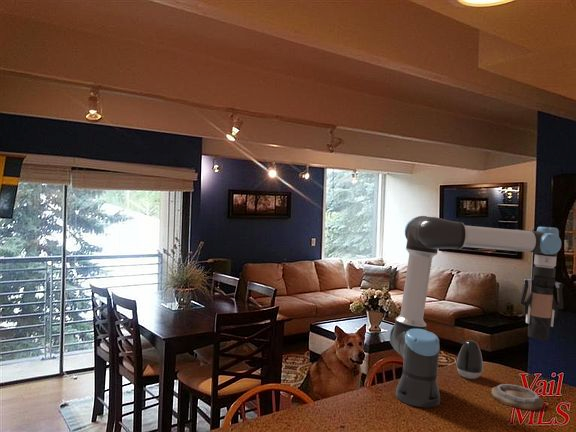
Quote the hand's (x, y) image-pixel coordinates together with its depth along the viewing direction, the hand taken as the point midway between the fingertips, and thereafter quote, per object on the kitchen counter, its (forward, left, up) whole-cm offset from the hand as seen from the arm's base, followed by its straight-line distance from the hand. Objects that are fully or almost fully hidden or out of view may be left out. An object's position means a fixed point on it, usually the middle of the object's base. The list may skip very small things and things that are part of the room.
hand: (539, 324), depth 180 cm
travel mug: (0, 0, -5) cm, 5 cm away
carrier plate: (-9, -15, -26) cm, 31 cm away
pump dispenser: (-24, +2, -26) cm, 35 cm away
